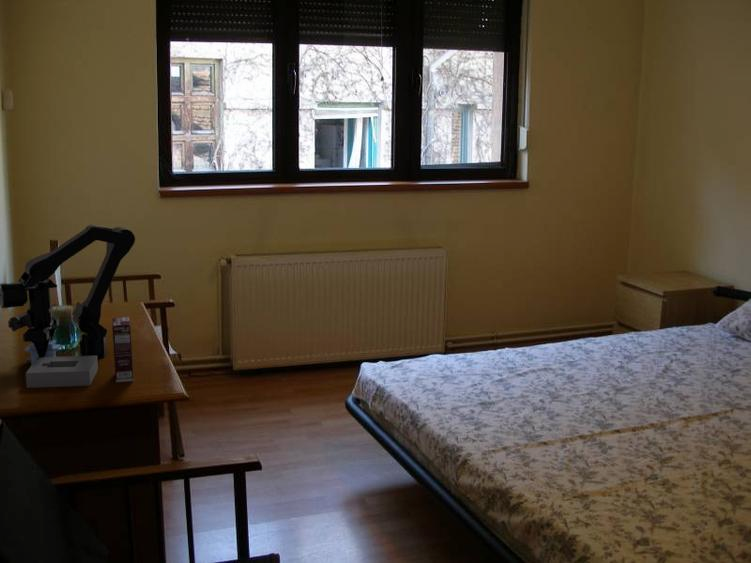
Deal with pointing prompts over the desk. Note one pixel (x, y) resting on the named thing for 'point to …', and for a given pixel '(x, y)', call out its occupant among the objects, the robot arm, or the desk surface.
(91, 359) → the chassis
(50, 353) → the block
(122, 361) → the supplement box
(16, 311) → the desk surface
